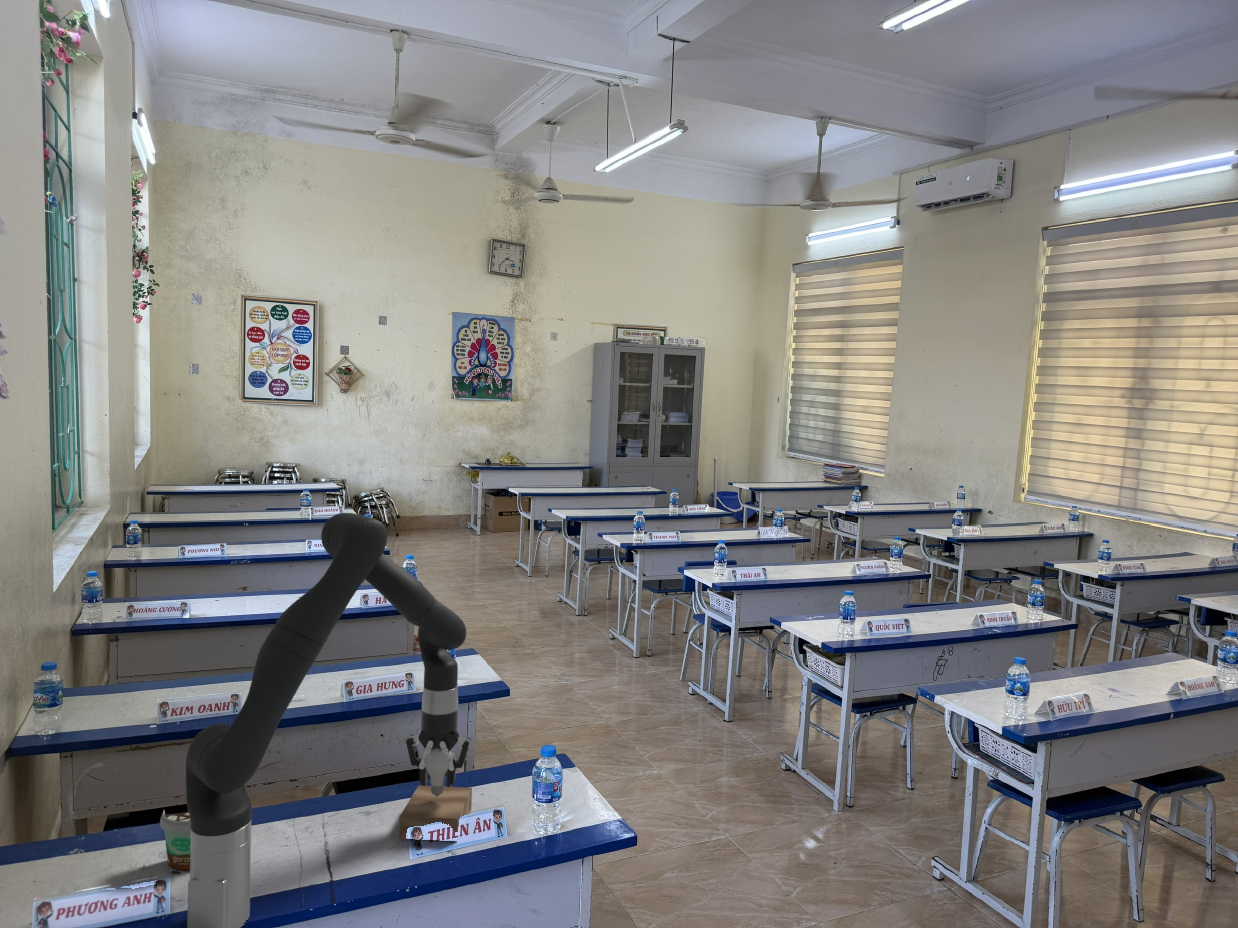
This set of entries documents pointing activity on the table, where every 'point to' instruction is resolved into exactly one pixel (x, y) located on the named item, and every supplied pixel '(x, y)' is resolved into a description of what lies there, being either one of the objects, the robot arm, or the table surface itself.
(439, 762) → the lightbulb
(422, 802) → the block
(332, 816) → the table surface
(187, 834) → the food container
